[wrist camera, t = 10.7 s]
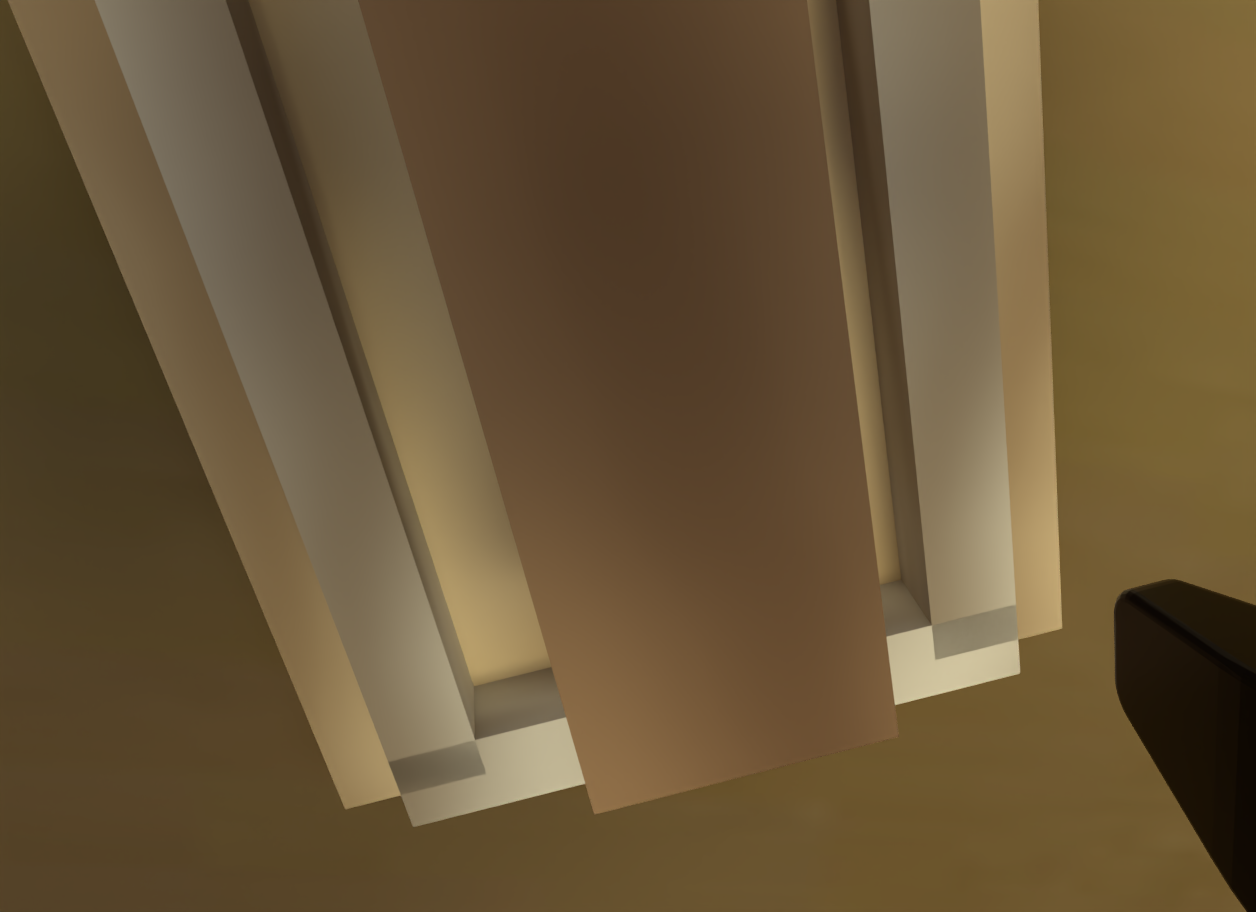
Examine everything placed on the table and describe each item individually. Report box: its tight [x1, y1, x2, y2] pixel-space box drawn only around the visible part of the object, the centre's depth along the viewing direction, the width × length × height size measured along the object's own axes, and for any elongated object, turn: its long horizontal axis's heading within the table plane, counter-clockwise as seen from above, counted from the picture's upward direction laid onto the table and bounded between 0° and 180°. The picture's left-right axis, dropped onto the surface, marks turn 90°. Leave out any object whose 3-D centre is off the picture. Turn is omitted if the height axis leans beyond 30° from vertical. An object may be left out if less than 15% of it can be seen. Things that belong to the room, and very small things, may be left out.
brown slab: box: [358, 0, 899, 815], centre depth 15 cm, size 4×12×6 cm, turn 12°
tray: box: [8, 0, 1062, 827], centre depth 17 cm, size 14×20×2 cm
